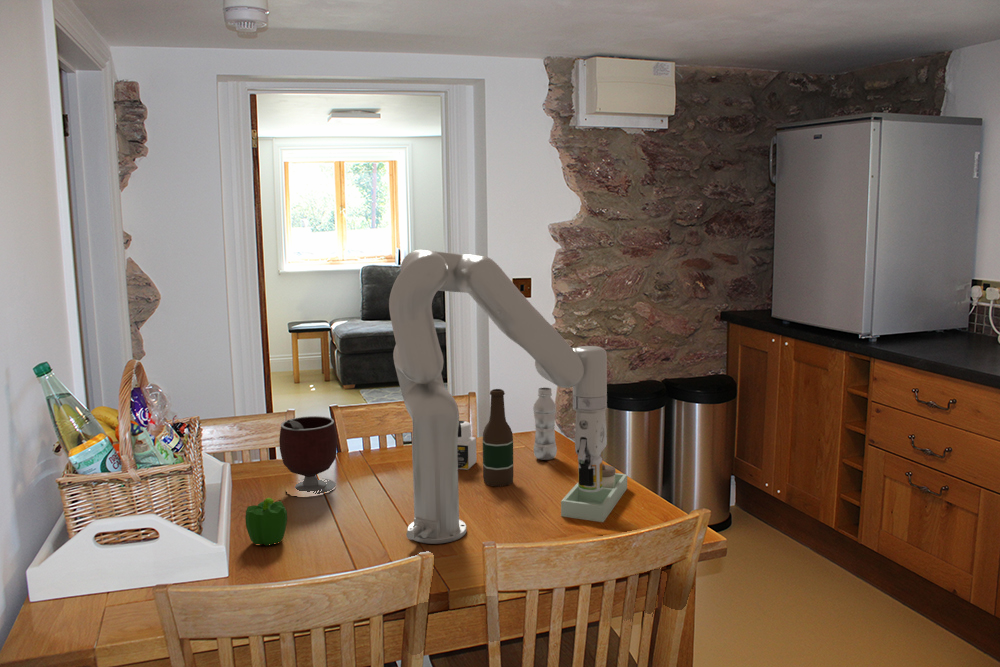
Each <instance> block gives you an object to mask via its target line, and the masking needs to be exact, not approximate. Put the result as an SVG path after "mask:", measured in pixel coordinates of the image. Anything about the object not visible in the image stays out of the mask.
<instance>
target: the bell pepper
mask: <svg viewBox="0 0 1000 667" xmlns="http://www.w3.org/2000/svg"><path fill="white" fill-rule="evenodd" d="M244 516H245V517H244V518H245V520H244V521H245V527H246V528H245V529H246V530H247V534H248V537H249V539H250V541H251V542H252V544H254V543H255V544H265V545H264V546H268V545H269V544H270V545H271V544H274V543H278V542H280V541H281V540H282V541H283V539H284V536H285V533H286V528H287V523H288V510H287V509H286V507H285V506H284V503H283V502H282V501H281V500H279V501H274V499H272V498H271V497H267V498H265V499H264V500H263V501H261V502H259V503H258V504H257V505H249V506H247V507H246V510H245V515H244ZM282 541H281V542H282ZM281 542H280V543H281ZM255 544H254V545H255ZM278 544H279V543H278Z"/></svg>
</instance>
